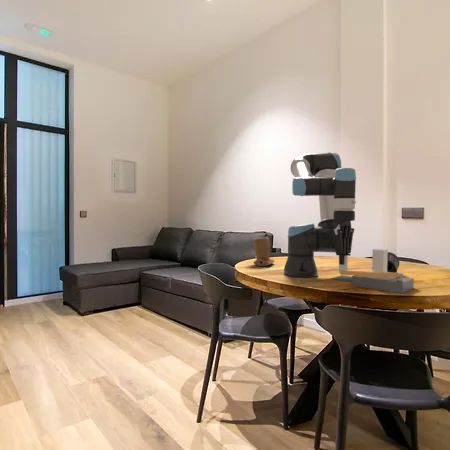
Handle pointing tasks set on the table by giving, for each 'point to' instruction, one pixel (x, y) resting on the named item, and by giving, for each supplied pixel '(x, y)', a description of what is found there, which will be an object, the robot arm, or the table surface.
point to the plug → (379, 263)
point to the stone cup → (262, 251)
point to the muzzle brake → (392, 263)
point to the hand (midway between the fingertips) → (342, 272)
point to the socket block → (385, 283)
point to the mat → (343, 278)
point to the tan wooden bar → (371, 273)
